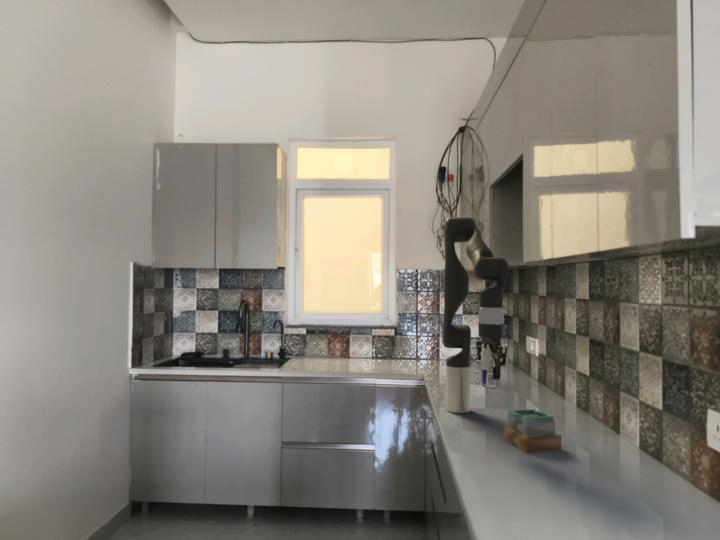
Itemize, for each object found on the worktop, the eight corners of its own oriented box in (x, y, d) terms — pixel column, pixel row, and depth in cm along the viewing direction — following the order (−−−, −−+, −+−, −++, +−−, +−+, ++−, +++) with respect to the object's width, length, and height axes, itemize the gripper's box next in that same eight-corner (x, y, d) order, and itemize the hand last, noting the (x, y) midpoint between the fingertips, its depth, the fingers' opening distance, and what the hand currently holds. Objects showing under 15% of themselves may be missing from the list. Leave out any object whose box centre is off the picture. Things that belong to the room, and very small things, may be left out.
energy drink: (486, 384, 140) (486, 346, 141) (502, 386, 137) (502, 347, 137) (478, 387, 136) (479, 347, 137) (495, 389, 133) (495, 349, 133)
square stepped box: (502, 439, 140) (502, 409, 141) (534, 436, 144) (534, 407, 144) (526, 452, 129) (526, 420, 129) (561, 449, 132) (561, 417, 133)
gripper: (468, 320, 143) (468, 373, 143) (493, 324, 129) (493, 383, 129) (488, 320, 145) (488, 372, 145) (515, 323, 131) (515, 381, 131)
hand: (491, 377), depth 137 cm, fingers closed on energy drink, 5 cm apart
